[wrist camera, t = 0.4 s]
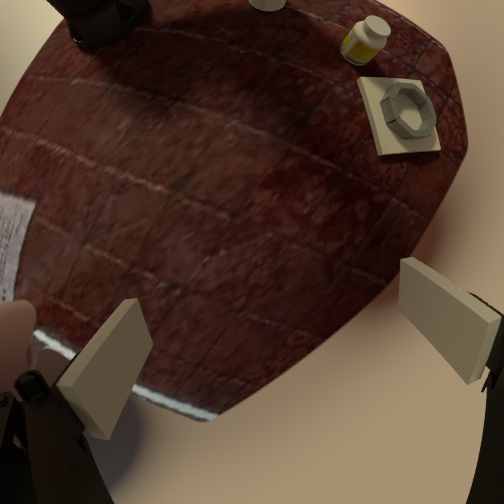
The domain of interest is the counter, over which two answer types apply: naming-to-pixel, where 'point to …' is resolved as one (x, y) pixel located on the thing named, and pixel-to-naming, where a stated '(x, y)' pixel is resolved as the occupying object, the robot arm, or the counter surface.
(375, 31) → the supplement bottle
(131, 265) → the counter surface
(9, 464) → the robot arm
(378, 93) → the holder
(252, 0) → the cup
